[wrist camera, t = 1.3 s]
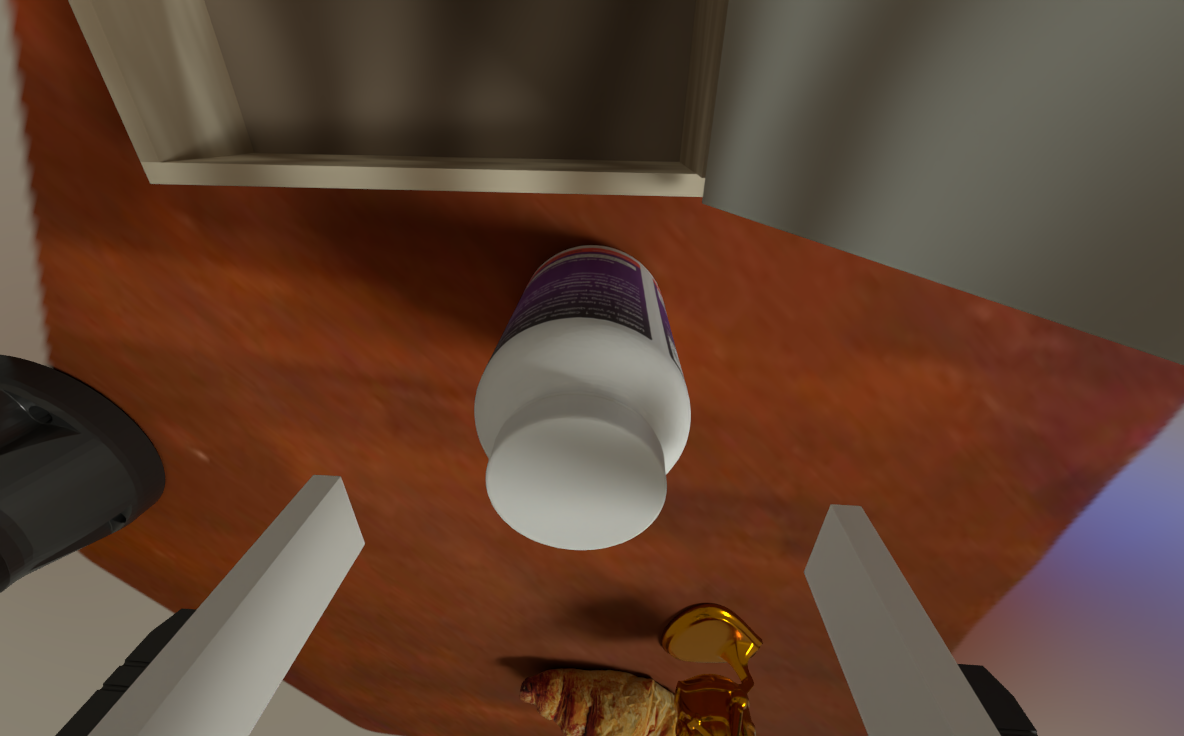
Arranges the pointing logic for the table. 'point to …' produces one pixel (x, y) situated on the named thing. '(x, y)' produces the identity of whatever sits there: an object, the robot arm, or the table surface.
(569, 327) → the pill bottle
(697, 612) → the figurine
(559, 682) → the croissant
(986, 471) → the table surface
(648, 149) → the grey wooden hinged box
